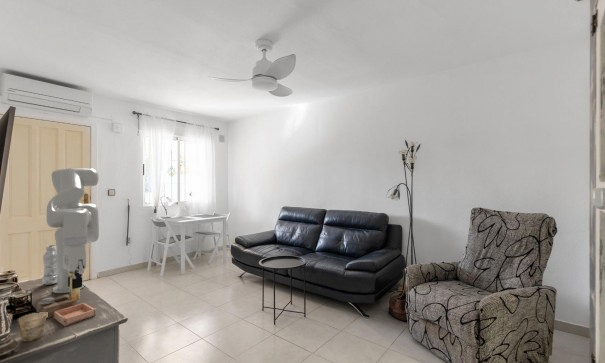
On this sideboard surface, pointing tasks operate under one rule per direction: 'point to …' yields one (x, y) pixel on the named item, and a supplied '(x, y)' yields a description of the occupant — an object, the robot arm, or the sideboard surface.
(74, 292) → the pin
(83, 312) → the tray
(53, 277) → the plastic bottle
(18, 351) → the sideboard surface
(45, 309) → the block
